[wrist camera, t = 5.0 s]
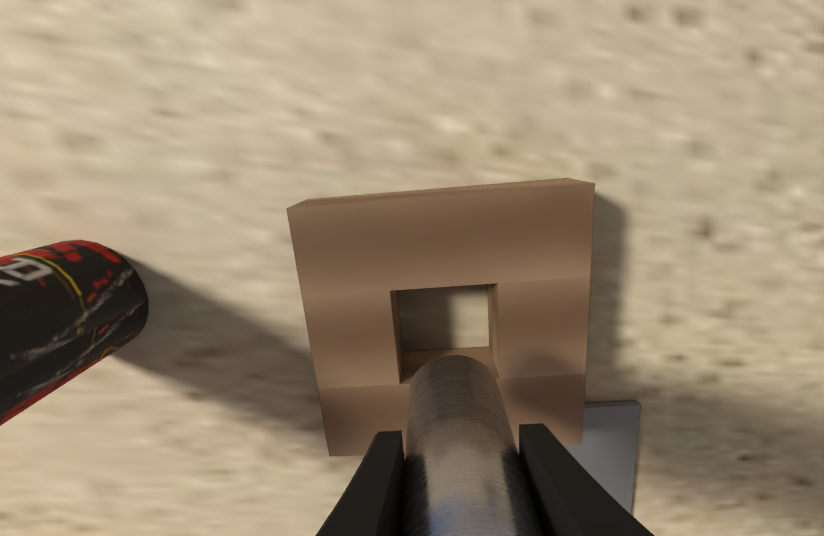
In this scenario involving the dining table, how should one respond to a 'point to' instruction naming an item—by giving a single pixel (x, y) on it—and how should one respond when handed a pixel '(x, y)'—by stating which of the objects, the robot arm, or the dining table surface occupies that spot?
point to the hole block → (443, 267)
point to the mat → (610, 447)
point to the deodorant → (62, 317)
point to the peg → (462, 456)
